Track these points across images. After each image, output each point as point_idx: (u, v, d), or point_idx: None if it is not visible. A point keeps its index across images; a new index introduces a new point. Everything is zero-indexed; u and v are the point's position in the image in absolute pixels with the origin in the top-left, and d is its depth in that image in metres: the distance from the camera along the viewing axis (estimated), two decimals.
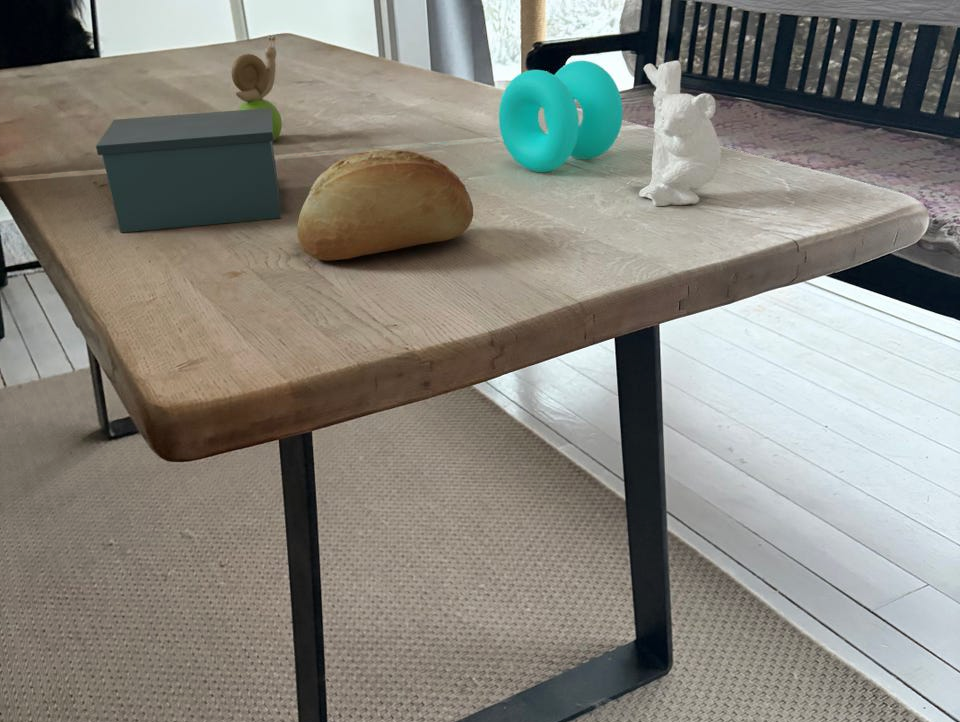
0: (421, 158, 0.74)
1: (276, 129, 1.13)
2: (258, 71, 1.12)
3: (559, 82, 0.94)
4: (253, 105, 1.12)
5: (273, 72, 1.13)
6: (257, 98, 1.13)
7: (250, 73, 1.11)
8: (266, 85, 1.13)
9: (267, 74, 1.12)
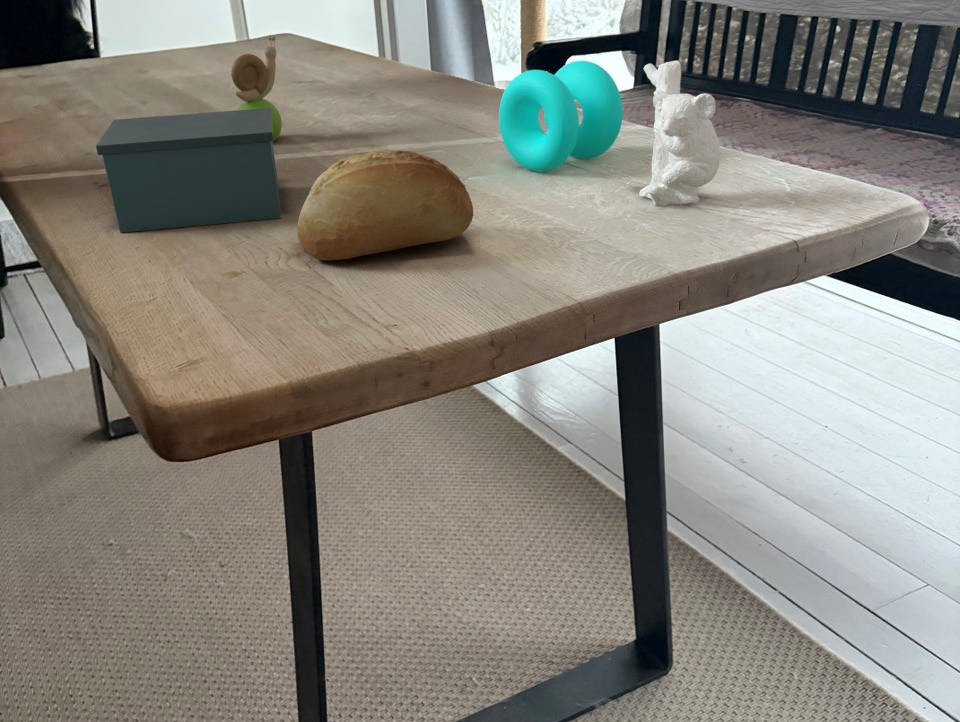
0: (421, 158, 0.74)
1: (276, 129, 1.13)
2: (258, 71, 1.12)
3: (559, 82, 0.94)
4: (253, 105, 1.12)
5: (273, 72, 1.13)
6: (257, 98, 1.13)
7: (250, 73, 1.11)
8: (266, 85, 1.13)
9: (267, 74, 1.12)
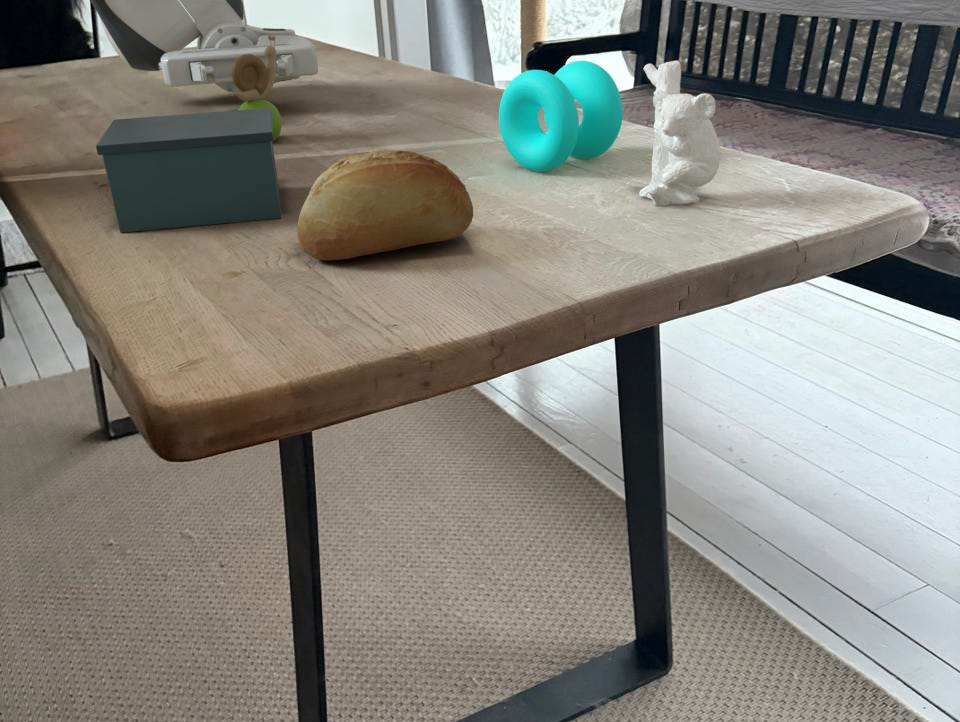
0: (421, 158, 0.74)
1: (276, 129, 1.13)
2: (258, 71, 1.12)
3: (559, 82, 0.94)
4: (253, 105, 1.12)
5: (273, 72, 1.13)
6: (257, 98, 1.13)
7: (250, 73, 1.11)
8: (266, 85, 1.13)
9: (267, 74, 1.12)
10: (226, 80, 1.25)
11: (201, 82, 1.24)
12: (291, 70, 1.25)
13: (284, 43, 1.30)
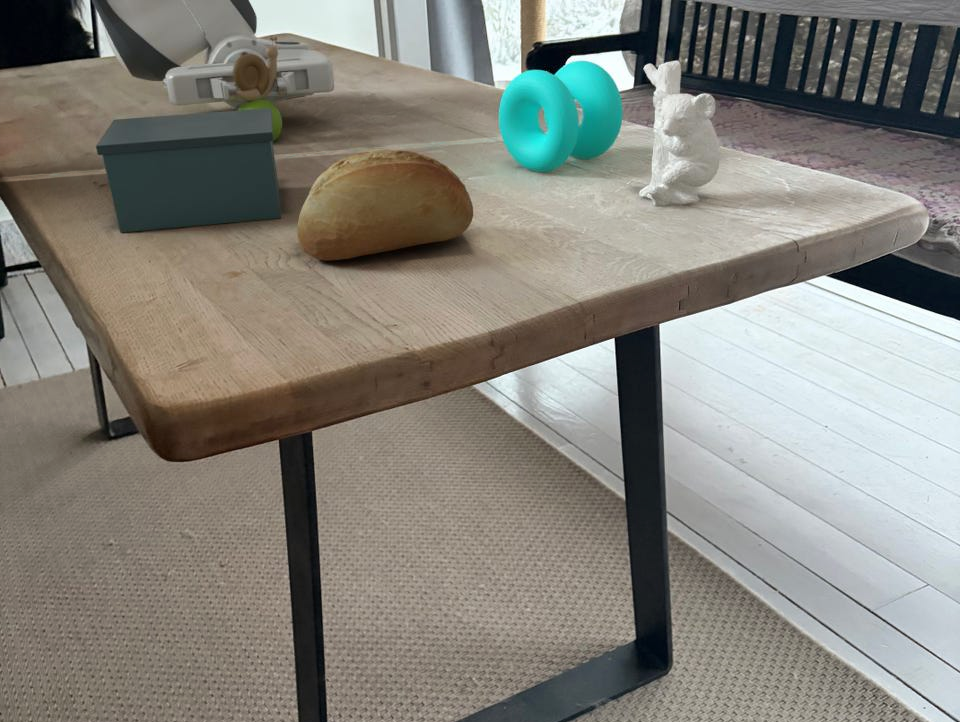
0: (421, 158, 0.74)
1: (276, 130, 1.13)
2: (259, 71, 1.12)
3: (559, 82, 0.94)
4: (253, 105, 1.12)
5: (274, 72, 1.13)
6: (258, 98, 1.13)
7: (252, 73, 1.11)
8: (267, 85, 1.13)
9: (268, 74, 1.12)
10: None
11: (209, 100, 1.15)
12: (292, 88, 1.16)
13: (298, 58, 1.21)
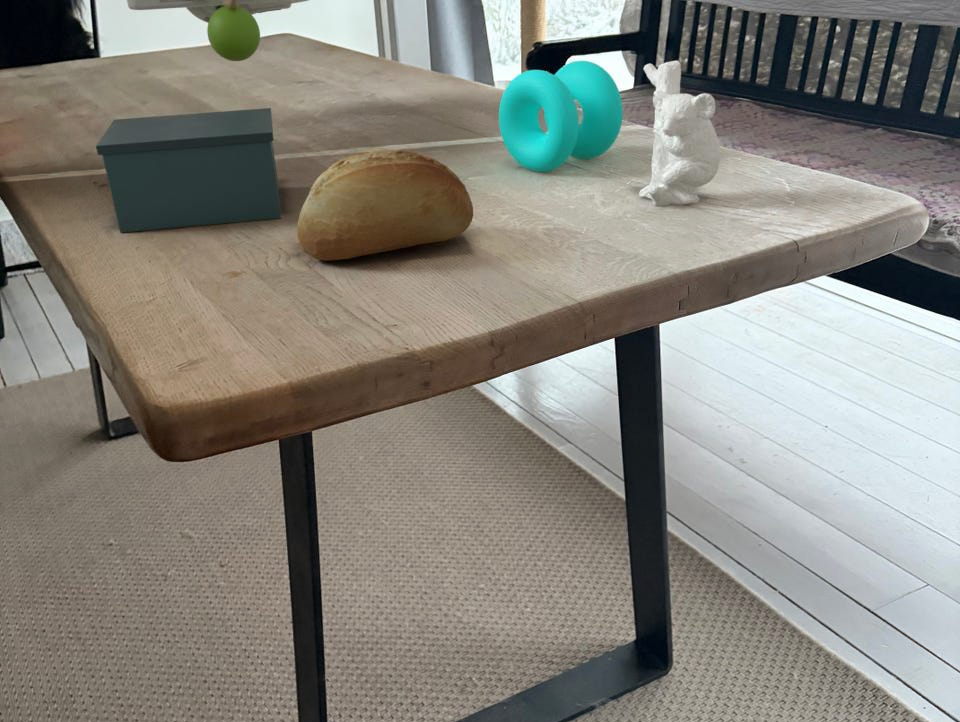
0: (421, 158, 0.74)
1: None
2: None
3: (559, 82, 0.94)
4: (243, 11, 0.99)
5: None
6: None
7: None
8: None
9: None
10: (202, 3, 1.04)
11: (172, 5, 1.03)
12: None
13: None
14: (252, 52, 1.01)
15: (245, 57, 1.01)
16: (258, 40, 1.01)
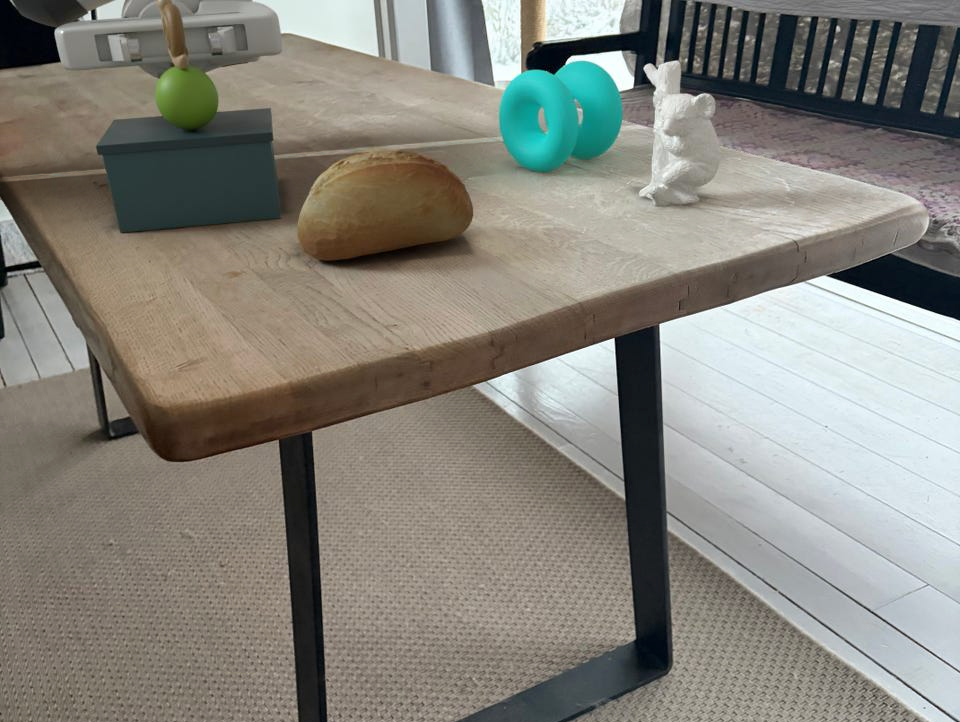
0: (421, 158, 0.74)
1: None
2: None
3: (559, 82, 0.94)
4: (196, 71, 0.84)
5: None
6: None
7: None
8: None
9: None
10: (150, 61, 0.88)
11: (114, 64, 0.87)
12: (232, 48, 0.88)
13: (235, 11, 0.93)
14: (209, 119, 0.85)
15: (201, 125, 0.85)
16: (216, 104, 0.85)
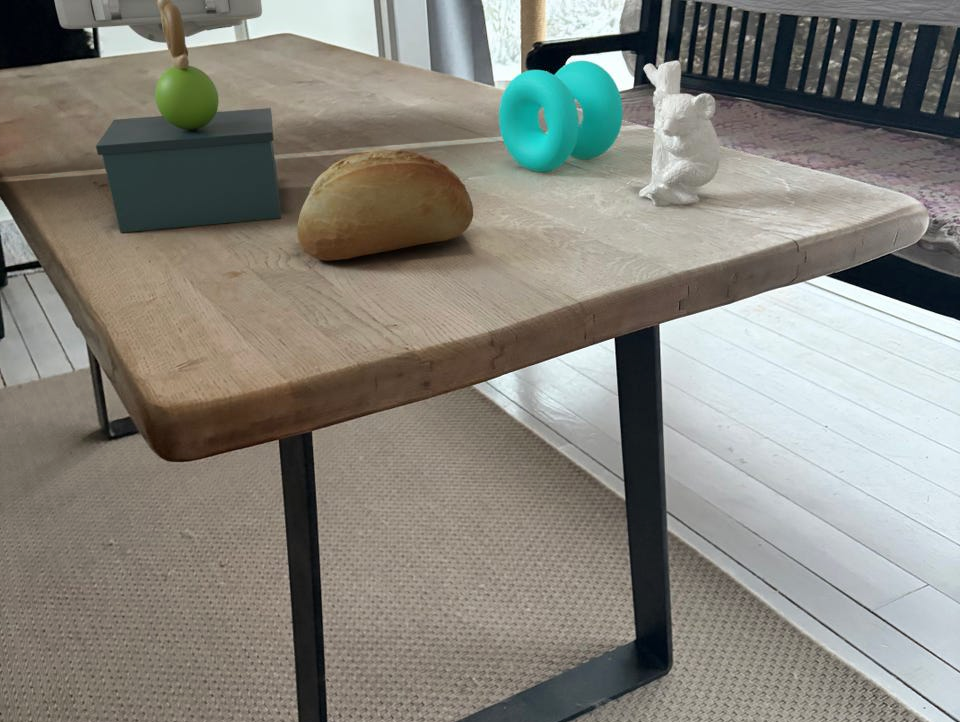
0: (421, 158, 0.74)
1: None
2: None
3: (559, 82, 0.94)
4: (196, 71, 0.84)
5: None
6: None
7: None
8: None
9: None
10: (141, 21, 0.97)
11: (107, 23, 0.96)
12: (225, 9, 0.97)
13: None
14: (209, 119, 0.85)
15: (201, 125, 0.85)
16: (216, 104, 0.85)
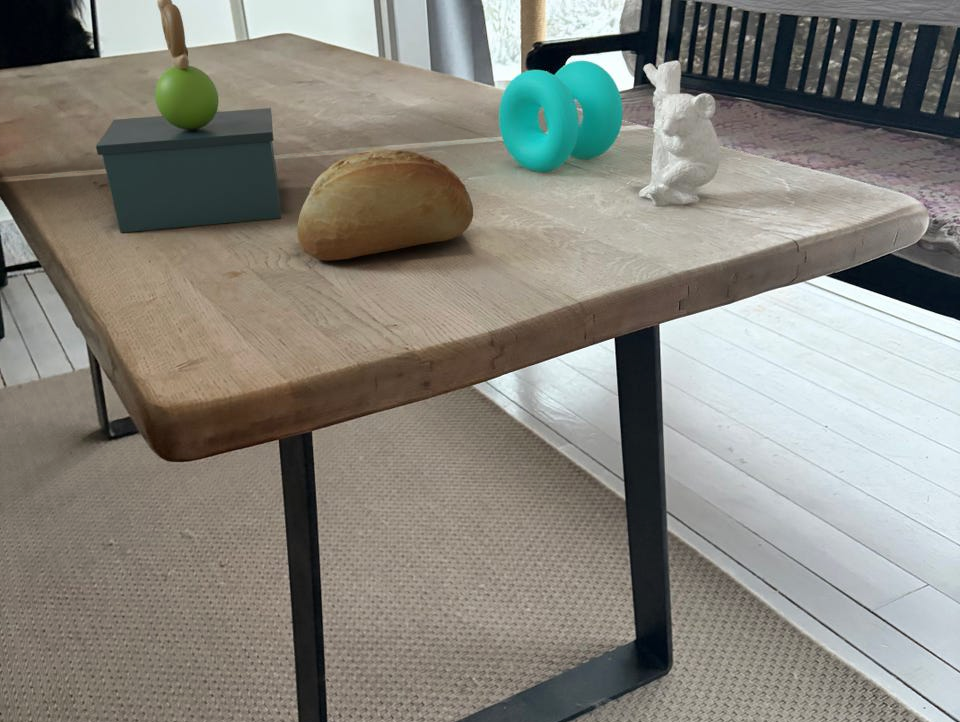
0: (421, 158, 0.74)
1: None
2: None
3: (559, 82, 0.94)
4: (196, 71, 0.84)
5: None
6: None
7: None
8: None
9: None
10: None
11: None
12: None
13: None
14: (209, 119, 0.85)
15: (201, 125, 0.85)
16: (216, 104, 0.85)
